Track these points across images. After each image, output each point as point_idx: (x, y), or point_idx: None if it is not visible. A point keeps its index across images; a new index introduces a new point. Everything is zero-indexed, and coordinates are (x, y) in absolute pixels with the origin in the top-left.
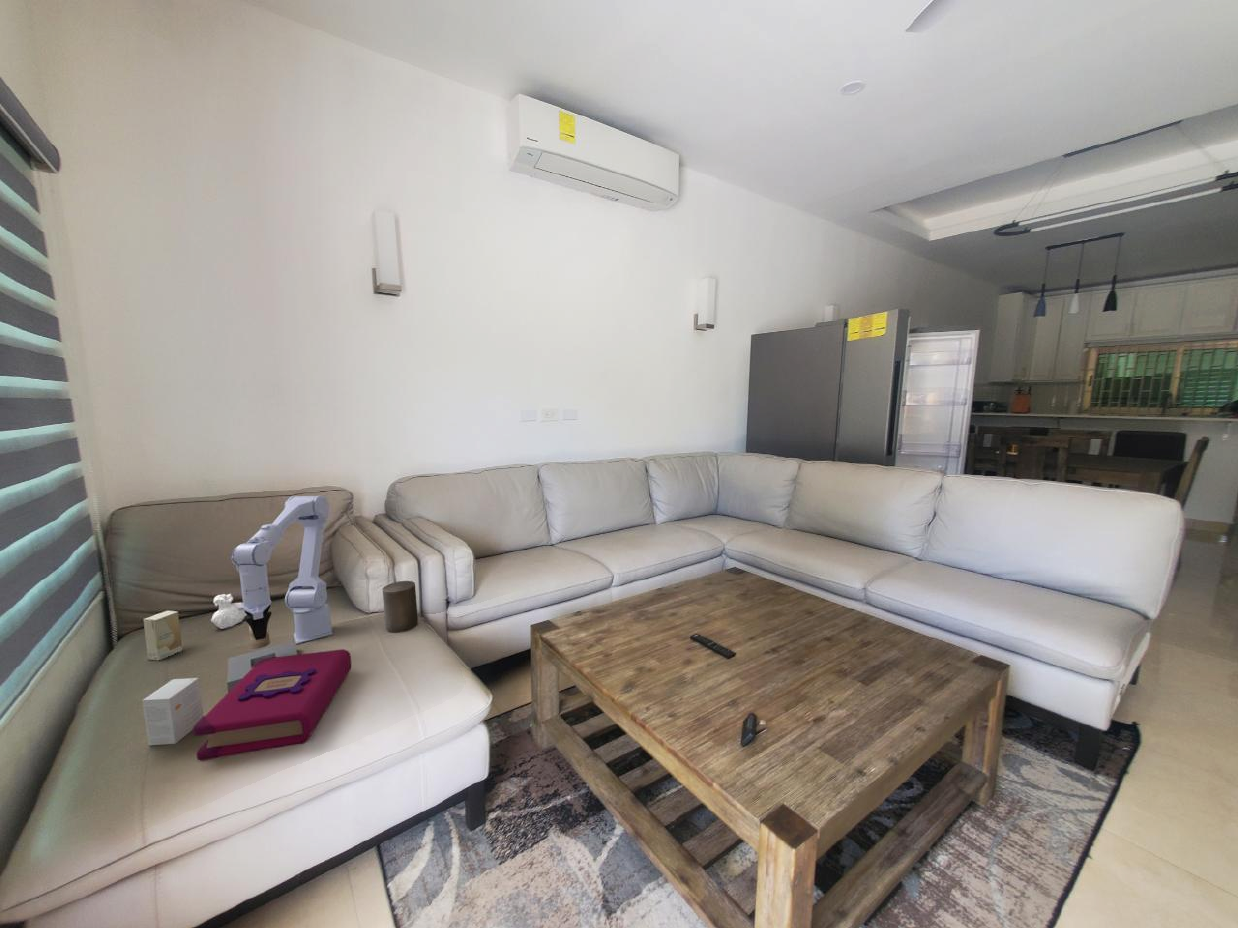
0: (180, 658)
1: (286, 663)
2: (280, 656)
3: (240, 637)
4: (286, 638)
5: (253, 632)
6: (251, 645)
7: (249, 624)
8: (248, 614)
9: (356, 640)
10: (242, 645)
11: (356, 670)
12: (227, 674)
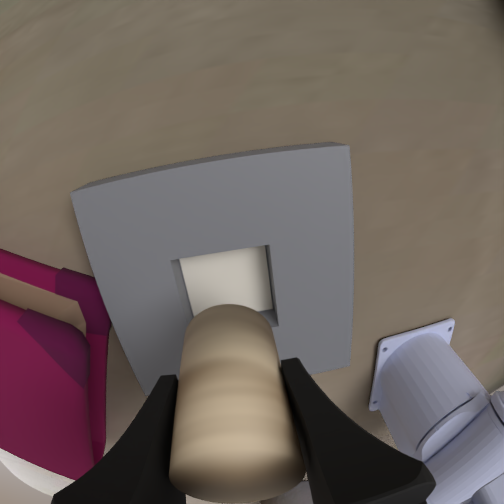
0: (487, 15)
1: (32, 403)
2: None
3: None
4: (446, 300)
5: (135, 418)
6: (208, 317)
7: (83, 476)
8: (324, 485)
9: None
10: (487, 175)
11: (109, 447)
12: (151, 173)
